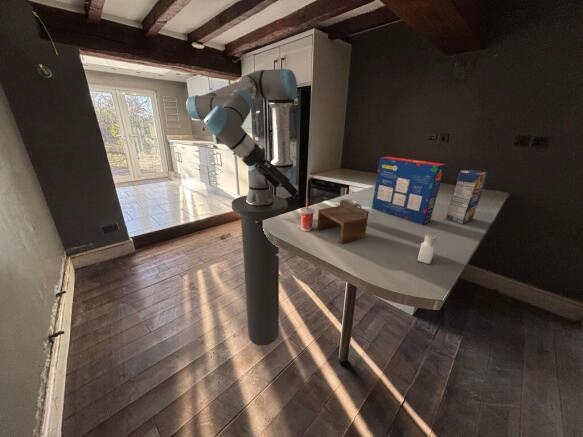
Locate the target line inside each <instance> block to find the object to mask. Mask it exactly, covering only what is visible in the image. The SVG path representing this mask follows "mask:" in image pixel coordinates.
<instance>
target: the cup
mask: <svg viewBox="0 0 583 437" xmlns="http://www.w3.org/2000/svg"><path fill="white" fill-rule="evenodd" d="M340 201H344V202H347V203H349V204H352V205H354V206H357V207H359V208H361V209H363V207H362V205H361V204H359V203H358V202H357V201H356V200H354V199H351V198H350V199H349V198H344V199H341V200H340Z"/></svg>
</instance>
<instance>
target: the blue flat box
mask: <svg viewBox="0 0 583 437" xmlns="http://www.w3.org/2000/svg"><path fill="white" fill-rule="evenodd" d="M445 168H446V163H440V162H433V161H425V160H418V159H417V160H416V159H408V158H403V157H393V156H383V157H379V161H378V169H377V174H376V179H375V184H374V192H373V198H372V204H371V209H373V210H375V211H379V212H381V213H385V214H388V215H390V216H394V217H397V218H400V219H403V220H406V221H410V222H412V223H415V224H419V225H421V226H424V225H425V224H427V223H429V222H431V220H432V215H433V212H434V209H435V205H436V201H437V197H438V193H439V190H440V186H441V183H442V179H443V176H444V172H445Z"/></svg>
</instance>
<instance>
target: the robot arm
mask: <svg viewBox="0 0 583 437" xmlns="http://www.w3.org/2000/svg"><path fill="white" fill-rule="evenodd" d="M297 98H298V81H297V77H296V74H295V72H294V71H293V70H291V69H290V68H289V69H288V68H277V69H276V68H275V69H259V70H255V71H253V72H249V73H247V74H245V75H243V76H241V77H239V78H238V80H237V81H235V82H233V83H230V84H228V85H225V86H222V87H220V88H218V89H215V90H213V91H210V92H208V93H205V94H202V95H191V96H188V97H187V100H186V102H185V107H186V111H187V113H188V116H190V118H192V119H193V120H198V121H203V122H204V125H205V126H206V128H207V129H208V130H209V131H210V132H211V133H212V134H213V135H214V136H215V137H216V138H217V139H219V141H220V142H222V143H223V145H225V146H226V147H227V148H228V149H229V150H230V151H231V154H232V155H233V156H235V155H236V156H237V158H239V159H240V160H241V161H242V162H243V163H244V164H245V165H246V166H247V177H248V178H247V179H248V192H247V194H246V195H247V198H246V203H247V204H248V205H251V206H267V205H270V204H272V203H273V198H272V195H273V194H272V192H271V189H270V187H274V188H275V189H277V188H283V189H285V190H286V192H287V193H288V194H289V195H291V197H295V196H296V195H297V193H298V192H299V190H298V189H297V188H296V187H295V186H294V184H295V182H296V178H297V175H298V168H297V166H296V165H294V161H293V160H292V159H291V107H292V106H293V104H294V100H296V99H297ZM253 100H267V103H268V105H269V106H270V108H271V125H272V126H271V129H272V151H273V152H272V154H273V159H272V160H271V161H270V160H268V159H266V158H263V155H264V150H263V148H262V147H260V145H259V144H258V143H256V141H255V140H254V139H253V137H251V136H250V135H249V133H248V132H247V131H245V129H244V128H243V127H242V126H243V124H244V123H245V122H246V120H247V118H248V116H249V115H250V114H251V110H252V108H253V104H254V101H253Z"/></svg>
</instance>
